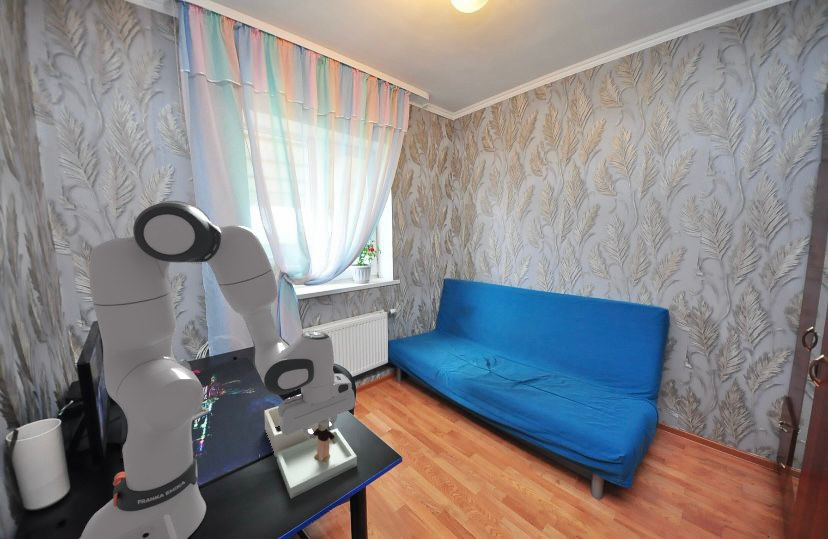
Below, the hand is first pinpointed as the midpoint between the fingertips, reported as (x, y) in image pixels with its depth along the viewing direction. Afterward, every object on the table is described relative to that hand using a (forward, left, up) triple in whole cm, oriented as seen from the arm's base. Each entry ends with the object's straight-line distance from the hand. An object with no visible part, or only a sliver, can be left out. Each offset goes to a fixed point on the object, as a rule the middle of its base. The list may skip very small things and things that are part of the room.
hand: (320, 433), depth 84 cm
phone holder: (-34, +44, -10) cm, 56 cm away
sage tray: (-1, 0, -9) cm, 9 cm away
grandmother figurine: (+1, 0, -8) cm, 9 cm away
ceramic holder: (-2, +16, -9) cm, 19 cm away
